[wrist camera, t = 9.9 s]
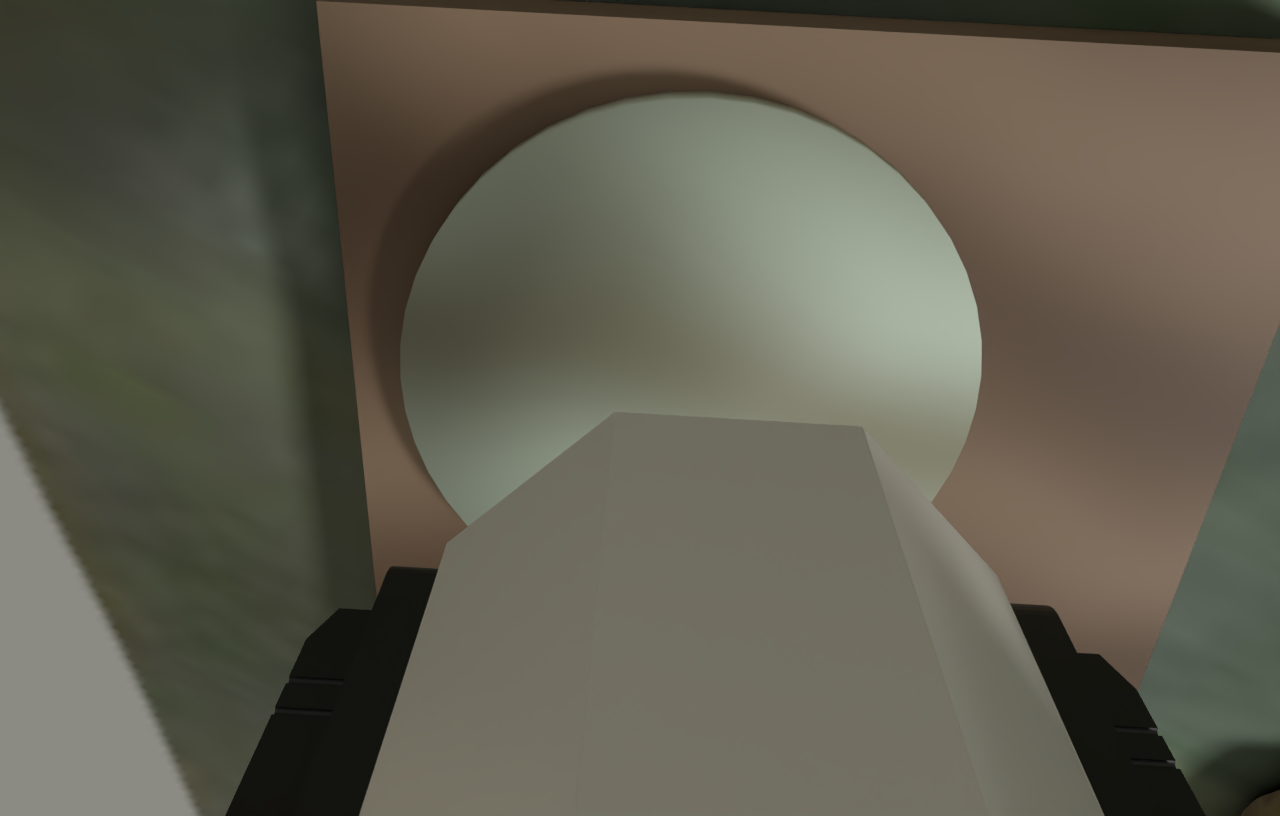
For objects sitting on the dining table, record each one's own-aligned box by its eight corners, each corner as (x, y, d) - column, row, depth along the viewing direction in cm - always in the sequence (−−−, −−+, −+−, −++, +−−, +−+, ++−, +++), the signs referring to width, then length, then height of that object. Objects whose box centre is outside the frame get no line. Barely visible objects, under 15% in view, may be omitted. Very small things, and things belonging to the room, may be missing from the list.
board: (1009, 925, 28) (1105, 1232, 21) (424, 893, 28) (353, 1190, 22) (1325, 41, 16) (1712, 155, 10) (344, -12, 16) (151, 72, 10)
